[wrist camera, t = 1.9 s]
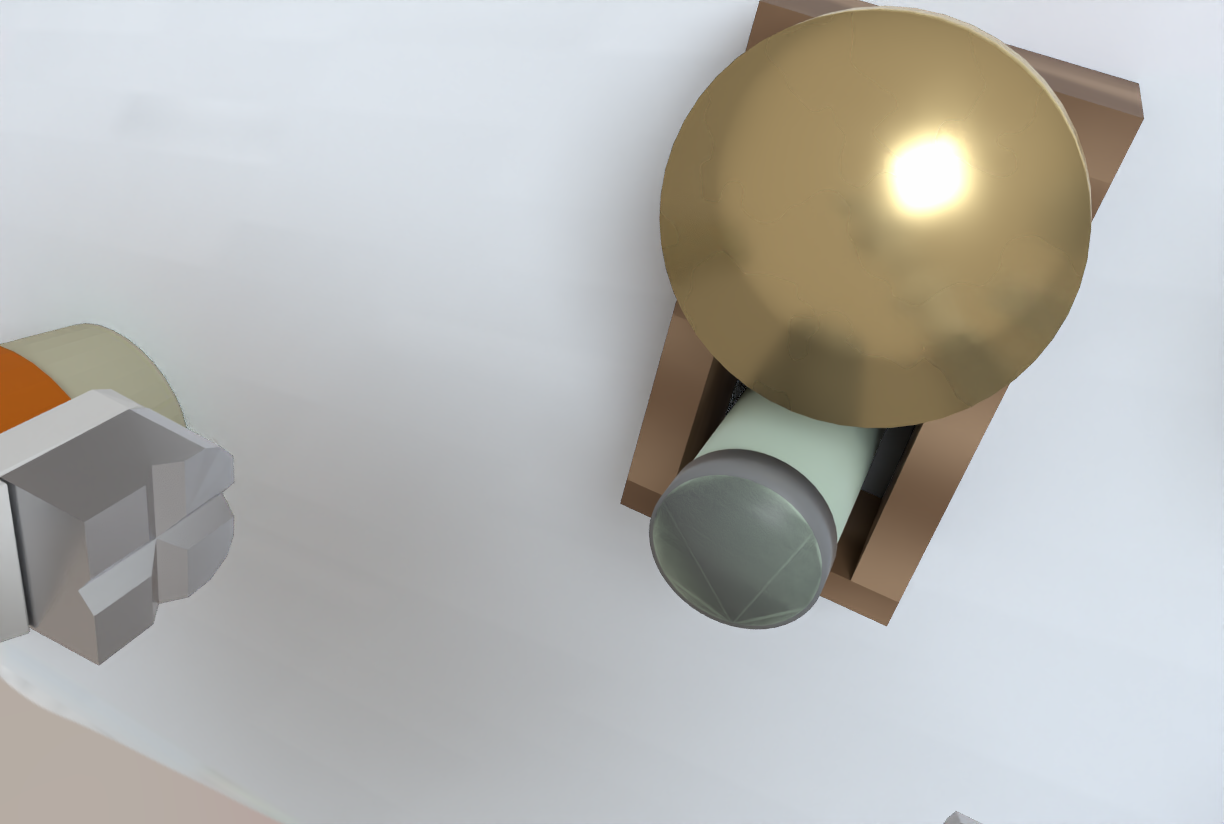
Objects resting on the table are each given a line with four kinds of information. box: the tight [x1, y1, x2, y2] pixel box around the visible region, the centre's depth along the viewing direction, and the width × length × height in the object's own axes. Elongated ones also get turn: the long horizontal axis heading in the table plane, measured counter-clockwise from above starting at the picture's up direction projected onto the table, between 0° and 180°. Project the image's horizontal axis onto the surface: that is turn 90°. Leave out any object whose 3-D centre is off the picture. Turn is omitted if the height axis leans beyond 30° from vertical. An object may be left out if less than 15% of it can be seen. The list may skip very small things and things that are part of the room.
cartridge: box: [649, 387, 887, 629], centre depth 29 cm, size 5×5×10 cm
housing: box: [620, 0, 1144, 626], centre depth 29 cm, size 16×9×5 cm, turn 166°
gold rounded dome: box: [660, 6, 1092, 428], centre depth 23 cm, size 9×9×6 cm
